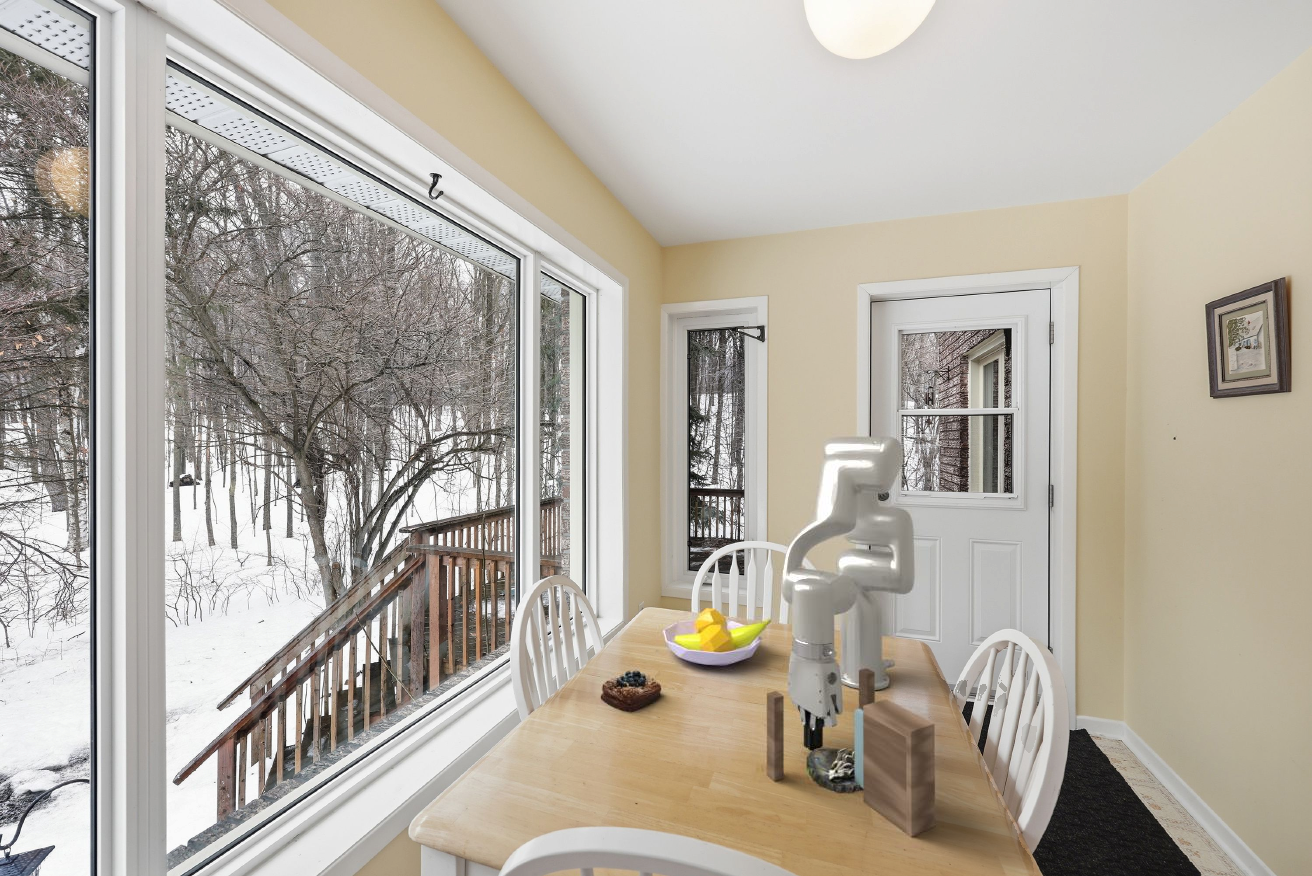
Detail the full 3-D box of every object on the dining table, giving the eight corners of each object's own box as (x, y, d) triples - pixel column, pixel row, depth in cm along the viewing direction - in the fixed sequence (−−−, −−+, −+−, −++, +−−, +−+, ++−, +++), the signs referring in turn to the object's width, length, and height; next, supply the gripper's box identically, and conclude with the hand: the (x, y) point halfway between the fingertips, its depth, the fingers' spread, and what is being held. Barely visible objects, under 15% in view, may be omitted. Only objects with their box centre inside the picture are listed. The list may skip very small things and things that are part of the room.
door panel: (859, 780, 91) (859, 708, 91) (911, 816, 82) (911, 737, 82) (854, 782, 91) (854, 710, 91) (906, 818, 82) (905, 738, 82)
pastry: (594, 700, 121) (594, 674, 121) (631, 683, 130) (631, 658, 130) (630, 717, 114) (630, 688, 114) (666, 697, 123) (666, 671, 123)
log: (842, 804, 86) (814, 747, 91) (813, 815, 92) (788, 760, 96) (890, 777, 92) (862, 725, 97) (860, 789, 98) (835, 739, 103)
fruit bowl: (644, 662, 142) (644, 619, 142) (692, 632, 165) (692, 595, 165) (744, 688, 127) (744, 639, 127) (782, 651, 150) (782, 610, 150)
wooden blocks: (866, 741, 104) (866, 661, 104) (974, 807, 85) (973, 710, 85) (766, 775, 93) (766, 686, 94) (864, 859, 74) (864, 747, 75)
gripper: (859, 658, 95) (859, 762, 95) (801, 632, 109) (801, 723, 109) (827, 665, 92) (827, 774, 92) (771, 637, 105) (771, 732, 105)
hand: (813, 746), depth 100 cm, fingers closed
